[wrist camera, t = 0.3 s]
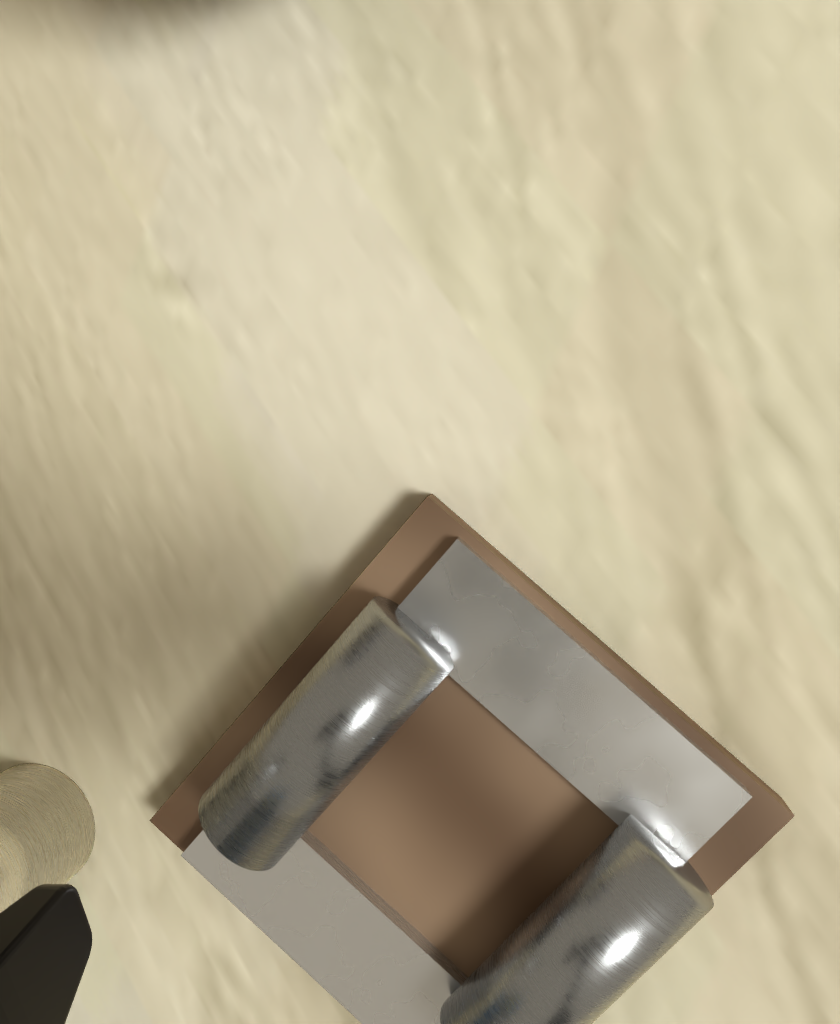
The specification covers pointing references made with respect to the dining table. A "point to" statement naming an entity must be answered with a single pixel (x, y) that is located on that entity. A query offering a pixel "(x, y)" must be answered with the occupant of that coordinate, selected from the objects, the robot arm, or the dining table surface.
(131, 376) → the dining table surface
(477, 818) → the board
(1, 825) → the hinge barrel
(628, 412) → the dining table surface
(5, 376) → the dining table surface
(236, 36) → the dining table surface
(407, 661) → the hinge leaves
